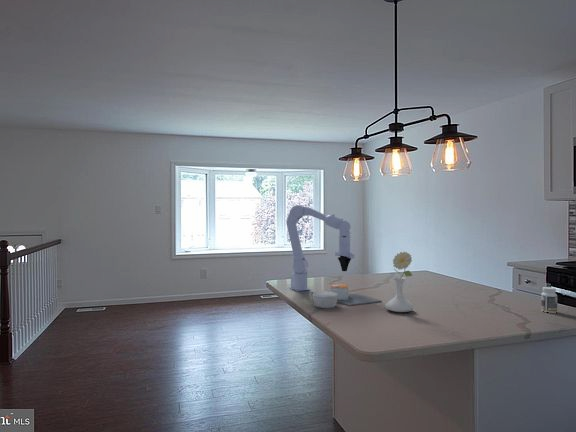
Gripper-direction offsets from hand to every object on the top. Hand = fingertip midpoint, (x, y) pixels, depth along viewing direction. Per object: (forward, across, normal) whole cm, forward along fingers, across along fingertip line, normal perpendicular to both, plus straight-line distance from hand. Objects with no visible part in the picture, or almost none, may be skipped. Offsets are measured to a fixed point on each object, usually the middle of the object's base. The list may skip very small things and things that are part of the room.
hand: (344, 271), depth 207 cm
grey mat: (+10, -18, +7) cm, 22 cm away
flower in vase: (+11, -44, +2) cm, 45 cm away
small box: (+7, -9, +9) cm, 15 cm away
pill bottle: (+11, -71, -53) cm, 89 cm away
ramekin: (+11, -22, +25) cm, 35 cm away
